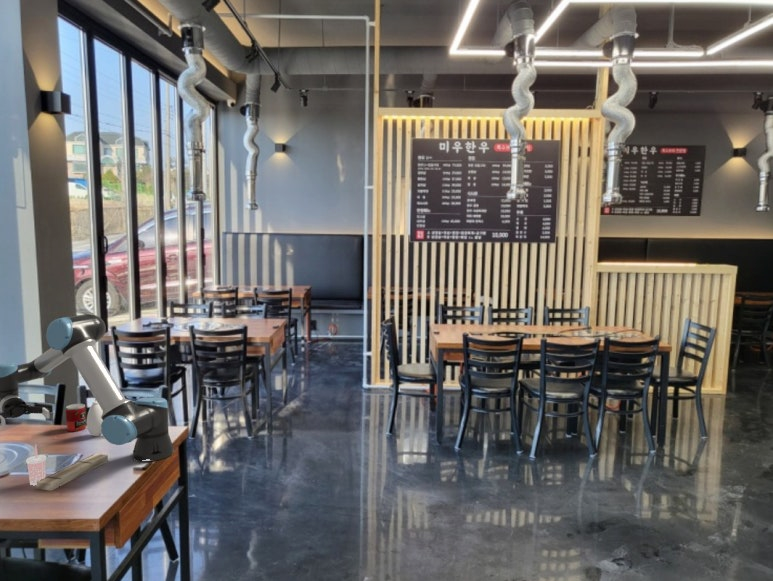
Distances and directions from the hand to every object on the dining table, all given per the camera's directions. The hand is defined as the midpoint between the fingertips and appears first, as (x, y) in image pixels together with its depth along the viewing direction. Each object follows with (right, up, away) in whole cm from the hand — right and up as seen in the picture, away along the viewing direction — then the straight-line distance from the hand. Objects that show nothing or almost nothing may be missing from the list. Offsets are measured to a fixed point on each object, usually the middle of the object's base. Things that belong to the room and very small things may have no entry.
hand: (26, 419), depth 192 cm
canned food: (-12, -17, +51) cm, 55 cm away
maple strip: (+16, -21, +2) cm, 27 cm away
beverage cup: (+7, -22, -5) cm, 23 cm away
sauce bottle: (+3, -18, +42) cm, 46 cm away
